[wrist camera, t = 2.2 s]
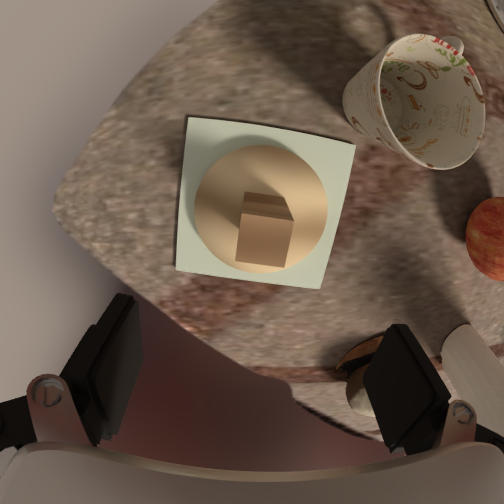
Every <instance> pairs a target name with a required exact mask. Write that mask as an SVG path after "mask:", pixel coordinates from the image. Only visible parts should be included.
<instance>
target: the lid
mask: <svg viewBox="0 0 504 504" xmlns="http://www.w3.org/2000/svg"><path fill="white" fill-rule="evenodd" d="M327 214H328V205H327V197H326V193H325V190H324V187H323V185H322V182H321V180H320V179H319V177H318V175H317V174H316V173H315V171H314V170H313V169H312V167H311V166H310V165H308V164H307V163H306V162H305V161H304V160H303V159H301V158H300V157H299V156H297V155H296V154H294V153H292V152H290V151H288V150H285V149H283V148H280V147H276V146H272V145H251V146H245V147H242V148H239V149H236V150H234V151H232V152H230V153H228V154H226V155H225V156H223V157H222V158H220V159H219V160H218V161H217V162H216V163H215V164H214V165H213V166H212V167H211V168H210V169H209V170H208V171H207V172H206V174H205V176H204V177H203V179H202V180H201V182H200V185H199V187H198V190H197V193H196V196H195V202H194V217H195V223H196V227H197V230H198V233H199V235H200V237H201V239H202V241H203V243H204V244H205V246H206V247H207V248H208V249H209V251H210V252H211V253H212V254H213V255H214V256H215V257H217V258H218V259H219V260H220V261H222V262H223V263H225V264H227V265H228V266H231V267H233V268H235V269H238V270H241V271H245V272H250V273H271V272H277V271H280V270H284V269H286V268H288V267H291V266H293V265H294V264H296V263H298V262H299V261H301V260H302V259H303V258H305V257H306V256H307V255H308V254H309V253H310V252H311V251H312V250H313V249H314V247H315V246H316V245H317V243H318V241H319V240H320V238H321V236H322V234H323V232H324V229H325V225H326V221H327Z"/></svg>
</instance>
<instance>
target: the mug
mask: <svg viewBox="0 0 504 504" xmlns="http://www.w3.org/2000/svg"><path fill="white" fill-rule="evenodd" d="M463 48H464V45H463V43H462V41H461V40H460V39H459V38H457V37H454V36H447V37H443V38H441V39H439V38H437V37H434V36H431V35H427V34H409V35H405V36H402V37H399V38H397V39H396V40H394V41H392V42H391V43H390V44H388V45H387V46H386V47H385V48H384V49H383V50H381V51H380V52H379V53H378V54H377V55H376V56H375V57H374V58H373V59H372V60H371V61H370V62H368V63H367V64H366V65H365V66H364V67H363V68H362V69H361V70H360V71H359V72H358V73H357V74H356V75H355V76H354V77H353V78H352V79H351V80H350V81H349V82H348V84H347V85H346V87H345V89H344V92H343V99H342V102H343V109H344V113H345V115H346V117H347V119H348V121H349V122H350V124H351V125H352V126H353V127H354V128H355V129H356V130H357V131H358V132H360V133H361V134H363V135H365V136H367V137H369V138H371V139H373V140H375V141H377V142H379V143H380V144H382V145H384V146H386V147H388V148H390V149H392V150H394V151H396V152H397V153H399V154H401V155H403V156H405V157H406V158H408V159H410V160H412V161H414V162H416V163H418V164H420V165H422V166H425V167H428V168H431V169H438V170H445V169H451V168H455V167H457V166H459V165H461V164H463V163H464V162H466V161H467V160H468V159H469V158H470V157H471V156H472V155H473V153H474V152H475V151H476V149H477V147H478V146H479V143H480V141H481V138H482V135H483V131H484V126H485V104H484V98H483V94H482V90H481V87H480V84H479V82H478V79H477V77H476V75H475V73H474V72H473V70H472V68H471V67H470V65H469V64H468V62H467V61H466V60H465V59H464V57H463V56H462V53H463Z"/></svg>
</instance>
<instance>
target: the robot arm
mask: <svg viewBox="0 0 504 504" xmlns="http://www.w3.org/2000/svg"><path fill="white" fill-rule="evenodd" d="M487 2H488V5H489V7H490V9H491V11H492V13H493V15H494V17H495V19H496V20H497V22H498V24H499V26H500V27H501V29H502V30H503V32H504V0H487ZM142 362H143V349H142V340H141V330H140V319H139V305H138V301H136V300H134V298H133V296H131V295H126V294H121V293H117V294H116V295H115V297H114V298H113V300H112V301H111V303H110V304H109V306H108V307H107V309H106V310H105V312H104V313H103V315H102V316H101V318H100V319H99V321H98V322H97V324H96V325H94V324H93V325H91V326H90V327H89V329H88V330H87V332H86V333H85V335H84V336H83V338H82V339H81V341H80V342H79V344H78V346H77V347H76V349H75V351H74V352H73V354H72V355H71V357H70V359H69V360H68V362H67V363H66V365H65V367H64V369H63V370H62V372H61V374H60V375H59V376H57V375H54V374H42V375H40V376H37V377H36V378H34V379H33V380H32V381H31V382H30V384H29V385H28V388H27V391H26V392H27V395H25V396H22V397H19V398H15V399H12V400H9V401H5V402H2V403H0V504H504V437H502V436H501V435H499V434H498V433H496V432H494V431H492V430H490V429H488V428H486V427H484V426H482V425H480V424H478V423H477V415H476V412H475V410H474V408H473V407H472V406H471V405H470V404H469V403H467V402H466V401H463V400H454V401H452V402H451V403H450V404H449V402H448V400H449V399H450V398H451V397H452V396H451V394H450V393H449V391H448V389H447V387H446V386H445V384H444V382H443V381H442V379H441V377H440V376H439V374H438V372H437V371H436V369H435V367H434V366H433V364H432V363H431V361H430V359H429V358H428V356H427V355H426V353H425V352H424V350H423V348H422V347H421V345H420V344H419V342H418V341H417V339H416V338H415V336H414V335H413V333H412V332H411V330H410V329H409V327H408V326H407V325H405V324H392V325H391V326H390V328H388V329H387V330H386V332H385V334H384V336H383V338H382V340H381V342H380V344H379V346H378V348H377V350H376V352H375V354H374V356H373V358H372V360H371V361H370V363H369V365H368V367H367V369H366V371H365V372H364V374H363V379H362V380H363V384H364V387H365V390H366V392H367V395H368V398H369V400H370V403H371V406H372V409H373V411H374V414H375V417H376V420H377V423H378V425H379V428H380V431H381V434H382V437H383V440H384V443H385V445H386V446H387V447H389V450H390V453H396V452H400V451H403V450H405V452H406V453H405V455H404V457H401V458H397V459H393V460H387V461H383V462H378V463H372V464H366V465H359V466H353V467H346V468H337V469H328V470H315V471H299V472H248V471H229V470H218V469H207V468H200V467H192V466H185V465H179V464H173V463H167V462H162V461H156V460H151V459H146V458H142V457H137V456H133V455H129V454H125V453H121V452H116V451H111V450H108V449H103V448H100V447H98V446H97V444H100V441H101V438H102V439H105V440H109V441H111V438H112V435H113V434H115V435H117V433H118V431H119V429H120V425H121V422H122V419H123V416H124V413H125V410H126V408H127V404H128V402H129V399H130V396H131V393H132V390H133V387H134V385H135V382H136V379H137V376H138V373H139V371H140V368H141V366H142Z"/></svg>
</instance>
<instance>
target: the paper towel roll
mask: <svg viewBox="0 0 504 504" xmlns="http://www.w3.org/2000/svg"><path fill="white" fill-rule="evenodd" d="M441 357H442V359H443V364H442V367H443V369H444V371H445V372H446V374H447V376H448V377H449V379H450V381H451V382H452V384H453V386H454V388H455V389H456V391H457V393H458V395H459V396H460V398H461V400H463V401H466V402H467V403H469V404H470V405H471V406H472V407H473V408H474V410H475V412H476V415H477V423H478V424H480V425H482V426H484V427H486V428H488V429H490V430H492V431H494V432H496V433H498V434H499V435H501V436H502V437H504V367H503V366H502V364H501V363H500V361H499V360H498V359H497V357H496V356H495V355H494V353H493V352H492V351H491V349H490V348H489V347H488V346H487V344H486V343H485V342H484V340H483V339H482V338H481V337H480V335H479V334H478V333H477V332H476V331H475V329H474V328H473V327H472V326H471V325H469V324H464V325H462V326H460V327H458V328H456V329H455V330H454V331H452V333H451V334H450V335H449V336H448V337H447V338H446V340H445V342H444V343H443V347H442V351H441Z"/></svg>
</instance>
